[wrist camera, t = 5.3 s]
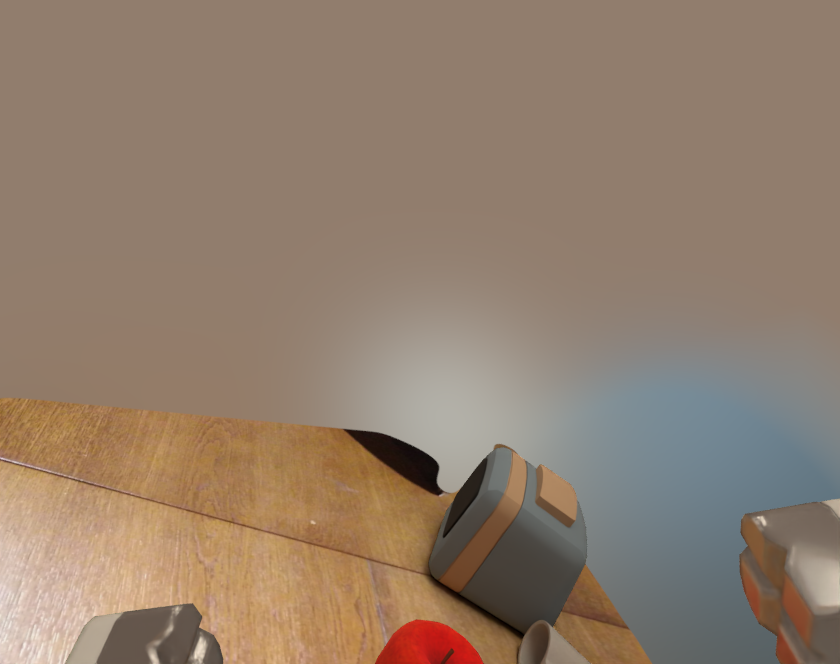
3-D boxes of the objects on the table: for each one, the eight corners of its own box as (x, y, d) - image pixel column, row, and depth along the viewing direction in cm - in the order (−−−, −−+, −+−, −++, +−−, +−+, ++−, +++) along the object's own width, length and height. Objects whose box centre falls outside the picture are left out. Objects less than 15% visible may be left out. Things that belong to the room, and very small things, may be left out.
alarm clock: (441, 515, 89) (497, 424, 85) (542, 576, 87) (603, 486, 83) (419, 578, 73) (487, 469, 69) (542, 654, 71) (618, 547, 68)
